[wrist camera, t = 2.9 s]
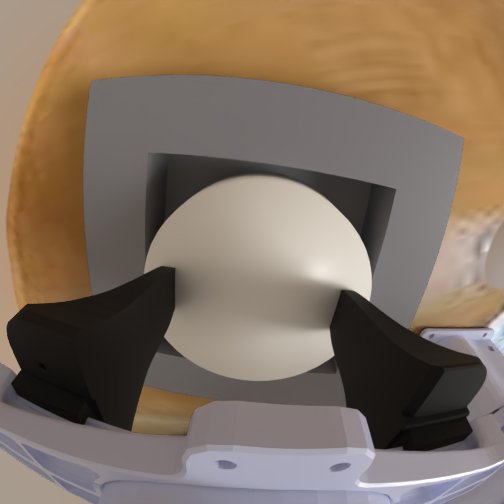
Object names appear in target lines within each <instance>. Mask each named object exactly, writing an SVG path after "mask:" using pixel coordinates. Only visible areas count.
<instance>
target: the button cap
mask: <svg viewBox="0 0 504 504" xmlns="http://www.w3.org/2000/svg"><path fill="white" fill-rule="evenodd" d="M160 266H167V267H174V268H175V310H174V313H173V316H172V319H171V322H170V325H169V327H168V330H167V332H166V334H165V336H164V337H165V338H166V340H167V341H168V342H169V343H170V344H171V345H172V346H173V347H174V348H175V349H176V350H177V351H178V352H179V353H181V354H182V355H183V356H184V357H185V358H187V359H188V360H190V361H192V362H193V363H195V364H196V365H198V366H200V367H202V368H204V369H206V370H208V371H211V372H213V373H216V374H219V375H222V376H226V377H229V378H234V379H240V380H249V381H270V380H278V379H284V378H288V377H292V376H296V375H299V374H302V373H305V372H307V371H309V370H311V369H314V368H316V367H318V366H319V365H321V364H323V363H324V362H326V361H328V360H329V359H330V358H332V357H333V356H334V352H333V348H332V343H331V337H330V325H331V322H332V319H333V316H334V312H335V309H336V306H337V303H338V300H339V297H340V293H341V290H351V291H355V292H357V293H359V294H360V295H362V296H363V297H364V298H366V299H367V300H368V301H370V296H371V289H372V273H371V267H370V261H369V258H368V255H367V251H366V248H365V246H364V244H363V242H362V240H361V238H360V236H359V234H358V233H357V231H356V230H355V228H354V227H353V226H352V224H351V223H350V222H349V221H348V219H347V218H346V217H345V216H344V215H343V214H342V213H341V212H340V211H339V210H338V209H337V208H336V207H335V206H334V205H333V204H332V203H331V202H330V201H329V200H328V199H327V198H325V197H324V196H323V195H322V194H321V193H320V192H318V191H317V190H316V189H314V188H313V187H312V186H310V185H308V184H306V183H304V182H302V181H300V180H298V179H295V178H293V177H290V176H287V175H283V174H279V173H274V172H263V171H254V172H243V173H238V174H233V175H230V176H227V177H224V178H221V179H218V180H216V181H214V182H212V183H211V184H209V185H207V186H205V187H204V188H202V189H201V190H200V191H198V192H197V193H196V194H194V195H193V196H192V197H191V198H190V199H188V200H187V201H186V202H185V203H184V204H182V205H181V206H180V207H179V208H178V209H177V210H176V211H175V212H174V213H173V214H172V215H171V216H170V217H169V218H168V219H167V220H166V221H165V222H164V224H163V225H162V226H161V228H160V229H159V230H158V232H157V234H156V236H155V238H154V240H153V241H152V243H151V246H150V249H149V252H148V255H147V258H146V263H145V269H144V274H145V273H147V272H149V271H151V270H153V269H155V268H157V267H160Z"/></svg>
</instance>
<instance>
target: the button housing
mask: <svg viewBox="0 0 504 504" xmlns="http://www.w3.org/2000/svg"><path fill="white" fill-rule="evenodd" d="M463 145H464V138H463V137H461V136H459V135H457V134H455V133H452V132H450V131H448V130H446V129H443V128H441V127H438V126H436V125H434V124H431V123H429V122H426V121H424V120H421V119H418V118H416V117H413V116H410V115H408V114H405V113H402V112H399V111H396V110H393V109H390V108H387V107H384V106H380V105H377V104H374V103H370V102H367V101H363V100H360V99H356V98H352V97H349V96H345V95H341V94H336V93H332V92H328V91H323V90H318V89H313V88H308V87H303V86H298V85H292V84H286V83H279V82H272V81H265V80H256V79H247V78H236V77H223V76H205V75H151V76H133V77H120V78H110V79H101V80H94V81H91V85H90V92H89V100H88V108H87V117H86V128H85V142H84V166H83V201H84V225H85V239H86V251H87V261H88V269H89V277H90V285H91V291H92V296H93V295H97V294H100V293H103V292H106V291H109V290H111V289H114V288H116V287H118V286H121V285H123V284H125V283H127V282H129V281H132V280H134V279H136V278H138V277H140V276H142V275H144V269H145V263H146V258H147V255H148V252H149V249H150V246H151V243H152V241H153V240H154V238H155V236H156V234H157V232H158V230H159V229H160V228H161V226H162V225H163V224H164V222H165V221H166V220H167V219H168V218H169V217H170V216H171V215H172V214H173V213H174V212H175V211H176V210H177V209H178V208H179V207H180V206H181V205H182V204H184V203H185V202H186V201H187V200H188V199H190V198H191V197H192V196H193V195H194V194H196V193H197V192H198V191H200V190H201V189H202V188H204V187H205V186H207V185H209V184H211V183H212V182H214V181H216V180H218V179H221V178H224V177H227V176H230V175H233V174H238V173H243V172H254V171H263V172H274V173H279V174H283V175H287V176H290V177H293V178H295V179H298V180H300V181H302V182H304V183H306V184H308V185H310V186H312V187H313V188H314V189H316V190H317V191H318V192H320V193H321V194H322V195H323V196H324V197H325V198H327V199H328V200H329V201H330V202H331V203H332V204H333V205H334V206H335V207H336V208H337V209H338V210H339V211H340V212H341V213H342V214H343V215H344V216H345V217H346V218H347V219H348V221H349V222H350V223H351V224H352V226H353V227H354V228H355V230H356V231H357V233H358V234H359V236H360V238H361V240H362V242H363V244H364V246H365V248H366V251H367V255H368V258H369V261H370V267H371V273H372V289H371V296H370V301H369V302H371V303H372V304H373V305H375V306H376V307H377V308H378V309H380V310H381V311H382V312H384V313H385V314H386V315H388V316H389V317H390V318H392V319H393V320H395V321H396V322H397V323H399V324H400V325H402V326H403V327H405V328H407V329H409V327H410V324H411V322H412V320H413V318H414V316H415V313H416V311H417V309H418V306H419V304H420V301H421V299H422V297H423V294H424V291H425V289H426V286H427V284H428V281H429V278H430V276H431V273H432V270H433V267H434V264H435V262H436V259H437V256H438V253H439V249H440V246H441V243H442V240H443V236H444V233H445V230H446V226H447V222H448V219H449V215H450V211H451V207H452V203H453V199H454V194H455V190H456V185H457V180H458V175H459V170H460V164H461V158H462V152H463ZM143 385H144V386H148V387H153V388H157V389H161V390H166V391H171V392H175V393H180V394H186V395H191V396H196V397H202V398H208V399H215V400H222V401H247V402H256V403H268V404H282V405H302V406H340V407H346V399H345V392H344V388H343V383H342V380H341V376H340V373H339V369H338V366H337V362H336V359H335V355H334V356H333V357H332V358H330V359H329V360H328V361H326V362H324V363H323V364H321V365H319V366H318V367H316V368H314V369H311V370H309V371H307V372H305V373H302V374H299V375H296V376H292V377H288V378H284V379H278V380H270V381H249V380H240V379H234V378H229V377H226V376H222V375H219V374H216V373H213V372H211V371H208V370H206V369H204V368H202V367H200V366H198V365H196V364H195V363H193V362H192V361H190V360H188V359H187V358H185V357H184V356H183V355H182V354H181V353H179V352H178V351H177V350H176V349H175V348H174V347H173V346H172V345H171V344H170V343H169V342H168V341H167V340H166V338H165V337H164V338H163V340H162V342H161V344H160V346H159V348H158V350H157V352H156V354H155V356H154V358H153V360H152V362H151V364H150V367H149V369H148V372H147V375H146V378H145V381H144V384H143ZM346 408H347V407H346Z"/></svg>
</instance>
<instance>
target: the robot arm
mask: <svg viewBox="0 0 504 504" xmlns="http://www.w3.org/2000/svg"><path fill="white" fill-rule="evenodd" d="M174 310H175V268H174V267H167V266H160V267H157V268H155V269H153V270H151V271H149V272H147V273H145V274H144V275H142V276H140V277H138V278H136V279H134V280H132V281H129V282H127V283H125V284H123V285H121V286H118V287H116V288H114V289H111V290H109V291H106V292H103V293H100V294H97V295H93V296H89V297H85V298H81V299H77V300H72V301H65V302H57V303H44V304H26V305H25V306H24V307H23V308H22V309H21V310H20V311H19V312H18V313H17V314H16V315H15V316H14V317H13V318H12V319H11V320H10V321H9V322H8V324H7V336H8V340H9V343H10V346H11V348H12V350H13V353H14V355H15V357H16V359H17V361H18V364H19V366H20V368H21V371H20V372H19V373H18V375H16V374H15V373H14V372H13V371H12V370H11V369H10V368H8V367H6V366H5V365H3V364H1V363H0V448H1V449H3V450H4V451H5V452H7V453H8V454H10V455H11V456H12V457H14V458H15V459H16V460H18V461H19V462H21V463H22V464H24V465H25V466H27V467H28V468H30V469H31V470H33V471H34V472H36V473H38V474H39V475H41V476H42V477H44V478H45V479H47V480H49V481H50V482H52V483H54V484H56V485H57V486H59V487H61V488H63V489H64V490H66V491H68V492H70V493H72V494H74V495H76V496H78V497H80V498H82V499H84V500H86V501H88V502H90V503H92V504H504V356H503V354H502V353H501V352H500V351H499V349H498V348H497V347H496V346H495V345H494V343H493V342H492V341H491V338H492V336H493V334H494V330H493V329H492V328H479V329H433V328H427V329H424V330H423V331H422V332H421V333H420V335H417V334H415V333H413V332H412V331H410V330H408V329H407V328H405V327H403V326H402V325H400V324H399V323H397V322H396V321H395V320H393V319H392V318H390V317H389V316H388V315H386V314H385V313H384V312H382V311H381V310H380V309H378V308H377V307H376V306H375V305H373V304H372V303H371V302H369V301H368V300H367V299H366V298H364V297H363V296H362V295H360V294H359V293H357V292H355V291H351V290H341V293H340V297H339V300H338V303H337V306H336V309H335V312H334V316H333V319H332V322H331V325H330V337H331V343H332V348H333V352H334V355H335V359H336V362H337V366H338V369H339V373H340V376H341V380H342V383H343V388H344V392H345V399H346V407H347V408H346V407H340V406H302V405H282V404H268V403H256V402H247V401H214V402H211V403H209V404H206V405H204V406H201V407H199V408H196V409H195V411H194V413H193V415H192V417H191V419H190V423H189V427H188V432H187V436H178V435H158V434H145V433H135V432H131V430H132V425H133V421H134V417H135V412H136V408H137V405H138V401H139V398H140V394H141V391H142V387H143V384H144V381H145V378H146V375H147V372H148V369H149V367H150V364H151V362H152V360H153V358H154V356H155V354H156V352H157V350H158V348H159V346H160V344H161V342H162V340H163V338H164V336H165V334H166V332H167V330H168V327H169V325H170V322H171V319H172V316H173V313H174Z"/></svg>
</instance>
